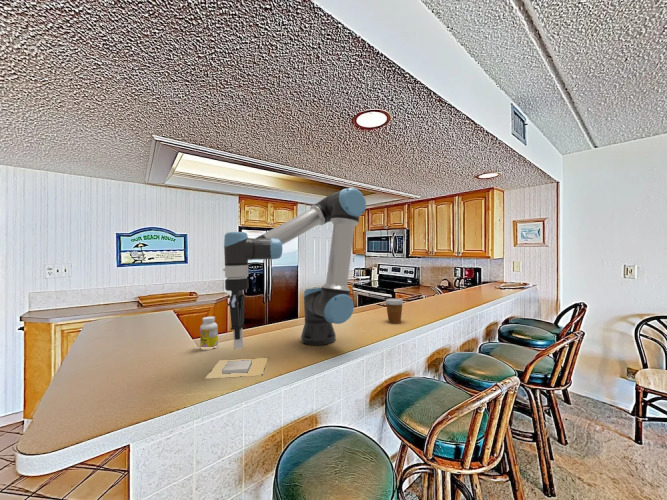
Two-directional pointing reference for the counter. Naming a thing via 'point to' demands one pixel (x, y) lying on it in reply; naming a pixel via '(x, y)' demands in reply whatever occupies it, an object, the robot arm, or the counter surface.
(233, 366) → the tile
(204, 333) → the supplement bottle
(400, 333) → the counter surface
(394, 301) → the disposable coffee cup
